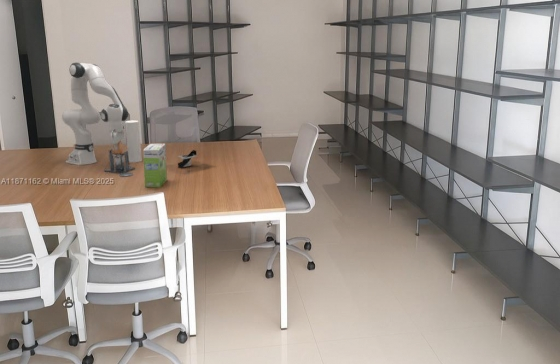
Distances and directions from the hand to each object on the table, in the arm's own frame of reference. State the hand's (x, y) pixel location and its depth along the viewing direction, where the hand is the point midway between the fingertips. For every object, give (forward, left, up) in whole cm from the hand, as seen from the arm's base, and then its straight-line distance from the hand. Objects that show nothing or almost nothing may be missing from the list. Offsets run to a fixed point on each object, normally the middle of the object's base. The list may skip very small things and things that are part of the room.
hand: (118, 148), depth 363 cm
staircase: (+38, +26, -16) cm, 49 cm away
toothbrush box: (+43, -16, -16) cm, 49 cm away
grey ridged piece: (0, 0, -16) cm, 16 cm away
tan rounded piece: (0, 0, -5) cm, 5 cm away
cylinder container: (-8, +26, -16) cm, 31 cm away
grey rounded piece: (+12, -8, -16) cm, 21 cm away
